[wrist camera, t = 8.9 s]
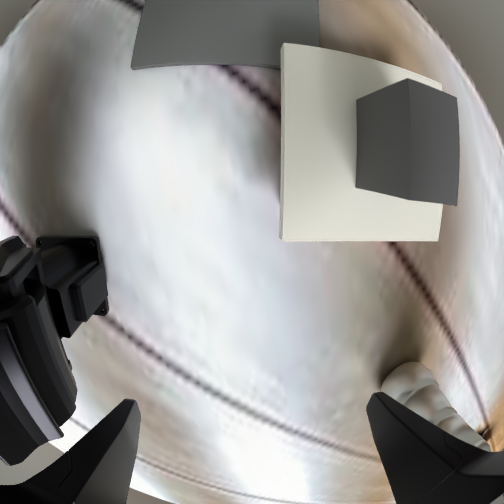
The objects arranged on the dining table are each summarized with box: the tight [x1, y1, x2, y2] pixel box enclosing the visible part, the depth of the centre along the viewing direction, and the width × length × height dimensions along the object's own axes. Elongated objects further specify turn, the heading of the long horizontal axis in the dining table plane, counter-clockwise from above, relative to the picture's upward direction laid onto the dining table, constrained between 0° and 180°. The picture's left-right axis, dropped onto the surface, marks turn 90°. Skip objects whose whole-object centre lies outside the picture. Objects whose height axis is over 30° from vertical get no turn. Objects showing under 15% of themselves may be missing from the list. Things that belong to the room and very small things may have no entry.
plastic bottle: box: [381, 362, 491, 452], centre depth 16 cm, size 6×7×20 cm
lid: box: [279, 43, 460, 242], centre depth 11 cm, size 11×11×6 cm
